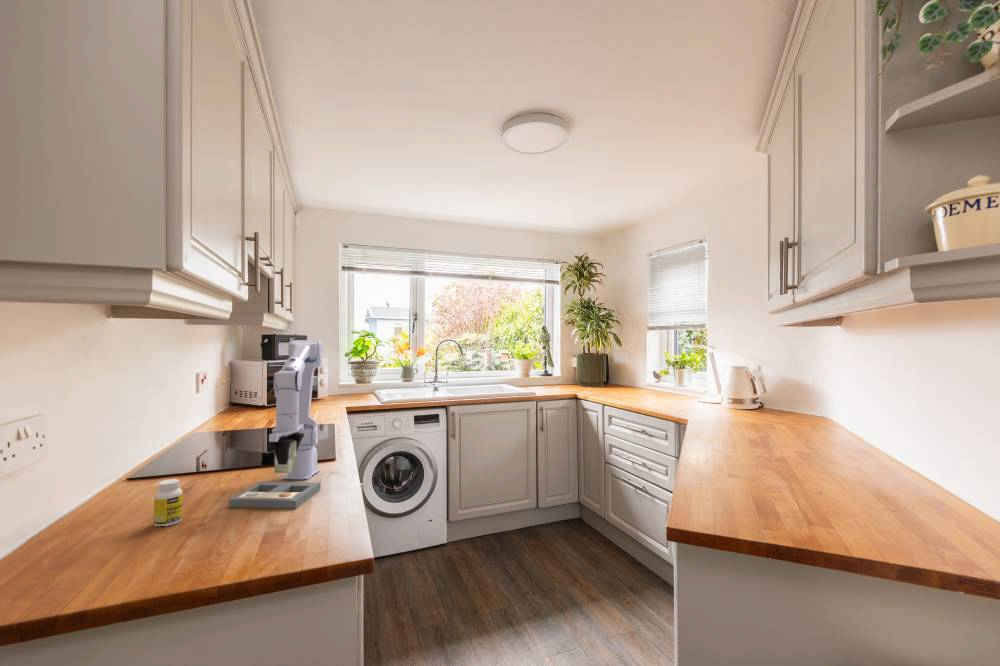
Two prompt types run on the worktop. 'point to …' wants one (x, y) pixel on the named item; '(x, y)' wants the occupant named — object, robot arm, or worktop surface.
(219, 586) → the worktop surface
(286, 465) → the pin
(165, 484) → the supplement bottle
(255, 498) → the board
